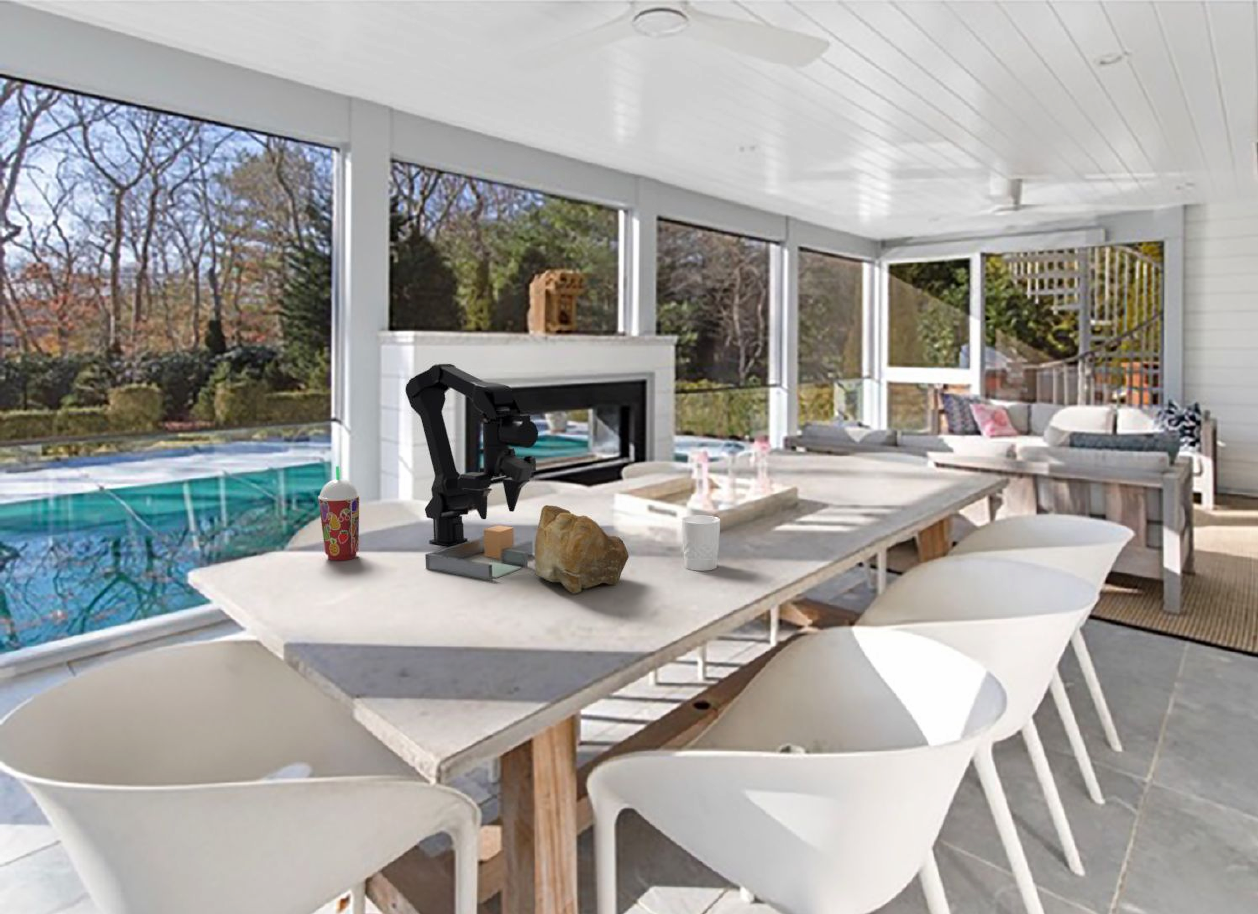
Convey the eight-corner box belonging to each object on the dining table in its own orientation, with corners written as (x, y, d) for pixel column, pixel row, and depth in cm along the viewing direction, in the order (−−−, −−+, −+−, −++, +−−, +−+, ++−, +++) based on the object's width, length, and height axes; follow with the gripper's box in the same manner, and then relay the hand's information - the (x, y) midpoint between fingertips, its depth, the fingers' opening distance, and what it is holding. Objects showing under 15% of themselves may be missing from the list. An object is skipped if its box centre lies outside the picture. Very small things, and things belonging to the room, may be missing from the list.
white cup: (723, 563, 166) (723, 516, 165) (714, 573, 159) (715, 524, 158) (687, 560, 169) (687, 514, 168) (676, 570, 162) (677, 522, 160)
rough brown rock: (645, 600, 145) (650, 519, 144) (557, 602, 139) (562, 518, 138) (604, 571, 167) (609, 500, 166) (527, 572, 161) (531, 499, 160)
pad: (465, 572, 160) (465, 571, 160) (491, 563, 167) (491, 561, 167) (495, 578, 156) (495, 576, 156) (521, 568, 163) (521, 567, 163)
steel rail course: (425, 568, 163) (425, 554, 163) (490, 547, 180) (490, 534, 180) (489, 580, 154) (488, 565, 154) (550, 557, 171) (550, 544, 171)
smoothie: (370, 555, 174) (366, 465, 171) (342, 564, 166) (337, 470, 164) (342, 551, 177) (337, 462, 175) (313, 560, 170) (307, 468, 167)
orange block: (484, 556, 173) (483, 529, 172) (498, 551, 177) (497, 525, 176) (500, 559, 171) (499, 531, 170) (514, 554, 174) (513, 527, 174)
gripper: (496, 451, 158) (498, 528, 161) (552, 441, 174) (553, 511, 176) (455, 447, 164) (457, 521, 166) (513, 438, 180) (514, 506, 182)
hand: (498, 515), depth 173 cm, fingers open, 9 cm apart
